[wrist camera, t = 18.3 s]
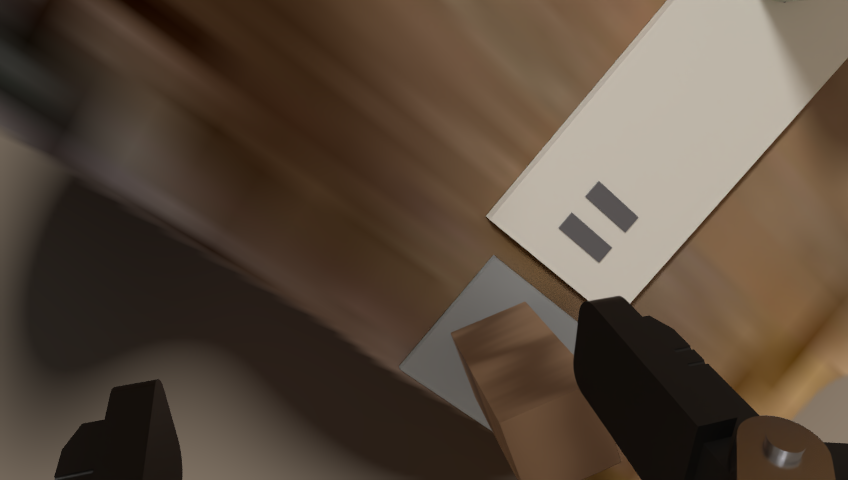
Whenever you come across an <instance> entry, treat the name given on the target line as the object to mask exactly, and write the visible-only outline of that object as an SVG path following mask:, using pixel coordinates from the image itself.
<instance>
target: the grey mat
mask: <svg viewBox="0 0 848 480" xmlns="http://www.w3.org/2000/svg"><path fill="white" fill-rule="evenodd" d="M522 302H526V303H527V304H528V305H529V306H530V307H531V308H532V309H533V311H534V312H535V313H536V314H537V315H538V316H539V317H540V318H541V319H542V321H543V322H544V323H545V324H546V325H547V326H548V327H549V328H550V330H551V331H552V332H553V333H554V334H555V335H556V336H557V337H558V338H559V340H560V341H561V342H562V343H563V344H564V345H565V346H566V347H567V348H568V350H569V351H570V352H571V353H572V354H573V355H574V350H575V342H576V334H577V326H578V322H577V321H576V320H574V319H573V318H572V317H571V316H569V315H568V314H567V313H566V312H564V311H563V310H562V309H561V308H559V307H558V306H557V305H556V304H554V303H553V302H552V301H551V300H549V299H548V298H547V297H546V296H544V295H543V294H542V293H541V292H539V291H538V290H537V289H536V288H534V287H533V286H532V285H531V284H529V283H528V282H527V281H526V280H524V279H523V278H522V277H520V276H519V275H518V274H517V273H515V272H514V271H513V270H512V269H510V268H509V267H508V266H507V265H505V264H504V263H503V262H502V261H500V260H499V259H498V258H497V257H495V256H494V255H493V256H492V257H491V258H490V260H489V261H488V262H487V263H486V264H485V266H484V267H483V268H482V269H481V270H480V271H479V273H478V274H477V275H476V276H475V277H474V279H473V280H472V281H471V282H470V283H469V284H468V286H467V287H466V288H465V289H464V290H463V292H462V293H461V294H460V295H459V296H458V297H457V299H456V300H455V301H454V302H453V303H452V304H451V306H450V307H449V308H448V309H447V310H446V312H445V313H444V314H443V315H442V316H441V317H440V319H439V320H438V321H437V322H436V323H435V325H434V326H433V327H432V328H431V329H430V330H429V332H428V333H427V334H426V335H425V336H424V338H423V339H422V340H421V341H420V342H419V343H418V345H417V346H416V347H415V348H414V349H413V350H412V352H411V353H410V354H409V355H408V356H407V358H406V359H405V360H404V361H403V362H402V363H401V365H400V366H399V368H400V370H402V371H403V372H405V373H406V374H408V375H409V376H411V377H412V378H414V379H415V380H417V381H418V382H419V383H421V384H422V385H424V386H425V387H427V388H428V389H430V390H431V391H433V392H434V393H436V394H437V395H439V396H440V397H442V398H443V399H445V400H446V401H448V402H449V403H451V404H452V405H454V406H455V407H457V408H458V409H460V410H461V411H463V412H464V413H466V414H467V415H468V416H470V417H471V418H473V419H474V420H476V421H477V422H479V423H480V424H482V425H483V426H485V427H486V428H488V429H489V430H491V431H492V429H491V428H490V426H489V424H488V422H487V420H486V418H485V416H484V414H483V412H482V410H481V408H480V406H479V404H478V402H477V400H476V398H475V396H474V393H473V391H472V388H471V385H470V383H469V380H468V377H467V375H466V372H465V370H464V367H463V364H462V362H461V359H460V357H459V354H458V351H457V349H456V346H455V344H454V341H453V338H452V336H451V332H453V331H456V330H458V329H461V328H463V327H465V326H468V325H470V324H473V323H475V322H477V321H480V320H482V319H484V318H487V317H489V316H492V315H494V314H496V313H499V312H501V311H503V310H506V309H508V308H511V307H513V306H515V305H518V304H520V303H522ZM492 432H493V431H492Z"/></svg>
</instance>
